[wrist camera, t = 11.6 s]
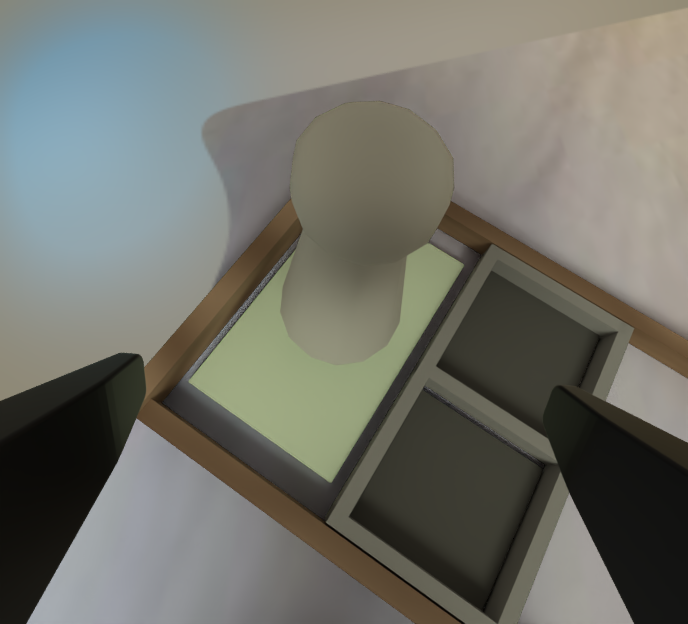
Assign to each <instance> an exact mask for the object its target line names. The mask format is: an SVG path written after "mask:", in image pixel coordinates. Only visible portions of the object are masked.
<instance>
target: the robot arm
mask: <svg viewBox="0 0 688 624" xmlns="http://www.w3.org/2000/svg"><path fill="white" fill-rule="evenodd" d="M145 395H146V379H145V371H144V362H143V359H142V357H141V356H140V355H139V354H132V353H118V354H116V355H113V356H111V357H108V358H106V359H103V360H101V361H98V362H96V363H93V364H91V365H88V366H86V367H83V368H81V369H79V370H76V371H73V372H71V373H68V374H66V375H64V376H61V377H59V378H56V379H54V380H51V381H49V382H46V383H44V384H41V385H39V386H36V387H34V388H31V389H29V390H26V391H24V392H21V393H19V394H17V395H14V396H12V397H9V398H7V399H4V400H2V401H0V624H26V623H27V622H28V620H29V618H30V616H31V614H32V613H33V611H34V609H35V607H36V606H37V604H38V602H39V600H40V599H41V597H42V595H43V593H44V591H45V590H46V588H47V586H48V584H49V583H50V581H51V579H52V577H53V576H54V574H55V572H56V570H57V568H58V567H59V565H60V563H61V561H62V560H63V558H64V556H65V554H66V552H67V551H68V549H69V547H70V545H71V544H72V542H73V540H74V538H75V537H76V535H77V533H78V531H79V529H80V528H81V526H82V524H83V522H84V521H85V519H86V517H87V515H88V514H89V512H90V510H91V508H92V506H93V505H94V503H95V501H96V499H97V498H98V496H99V494H100V492H101V491H102V489H103V487H104V485H105V483H106V482H107V480H108V478H109V476H110V475H111V473H112V471H113V469H114V467H115V465H116V464H117V462H118V460H119V457H120V455H121V453H122V451H123V448H124V446H125V444H126V441H127V439H128V437H129V434H130V432H131V430H132V427H133V425H134V422H135V420H136V418H137V415H138V413H139V411H140V408H141V406H142V404H143V401H144V399H145ZM542 421H543V426H544V429H545V431H546V434H547V437H548V439H549V442H550V445H551V447H552V450H553V453H554V455H555V458H556V461H557V463H558V466H559V469H560V471H561V474H562V477H563V479H564V481H565V484H566V486H567V488H568V491H569V493H570V495H571V497H572V499H573V501H574V503H575V505H576V507H577V509H578V511H579V513H580V515H581V517H582V519H583V521H584V523H585V525H586V527H587V529H588V531H589V533H590V536H591V538H592V540H593V542H594V544H595V546H596V548H597V550H598V552H599V554H600V556H601V558H602V560H603V562H604V564H605V566H606V568H607V570H608V572H609V574H610V576H611V578H612V580H613V582H614V584H615V586H616V588H617V590H618V592H619V594H620V596H621V598H622V600H623V602H624V604H625V606H626V608H627V610H628V612H629V614H630V616H631V618H632V620H633V622H634V624H688V443H687V442H685V441H683V440H681V439H679V438H677V437H675V436H673V435H671V434H669V433H667V432H665V431H663V430H661V429H659V428H657V427H655V426H653V425H651V424H649V423H647V422H645V421H643V420H642V419H640V418H638V417H636V416H634V415H632V414H630V413H628V412H626V411H624V410H622V409H620V408H618V407H616V406H614V405H612V404H610V403H608V402H606V401H604V400H602V399H600V398H598V397H596V396H594V395H592V394H590V393H588V392H586V391H584V390H582V389H580V388H578V387H576V386H570V385H557V386H555V387H554V388H553V389H552V391H551V394H550V397H549V399H548V402H547V405H546V407H545V410H544V413H543V418H542Z"/></svg>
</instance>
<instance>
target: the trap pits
mask: <svg viewBox="0 0 688 624" xmlns="http://www.w3.org/2000/svg"><path fill="white" fill-rule="evenodd" d="M633 330H634V328H633V327H631V326H629V325H628V324H626V323H624V322H623V321H621V320H619V319H618V318H616V317H614V316H613V315H611V314H609V313H608V312H606V311H604V310H603V309H601V308H599V307H598V306H596V305H594V304H593V303H591V302H589V301H587V300H586V299H584V298H582V297H581V296H579V295H577V294H576V293H574V292H572V291H571V290H569V289H567V288H566V287H564V286H562V285H561V284H559V283H557V282H556V281H554V280H552V279H551V278H549V277H547V276H545V275H544V274H542V273H540V272H539V271H537V270H535V269H534V268H532V267H530V266H529V265H527V264H525V263H524V262H522V261H520V260H519V259H517V258H515V257H514V256H512V255H510V254H508V253H507V252H505V251H503V250H502V249H500V248H498V247H497V246H495V245H493V244H491V245H490V247H489V248H488V249H487V250H486V251H485V252H484V254H483V255H482V256H481V257H480V259H479V261H478V262H477V264H476V266H475V267H474V269H473V271H472V272H471V274H470V276H469V277H468V279H467V281H466V283H465V284H464V286H463V288H462V289H461V291H460V293H459V294H458V296H457V298H456V299H455V301H454V303H453V304H452V306H451V308H450V309H449V311H448V313H447V314H446V316H445V318H444V319H443V321H442V323H441V324H440V326H439V328H438V329H437V331H436V333H435V334H434V336H433V338H432V339H431V341H430V343H429V344H428V346H427V348H426V349H425V351H424V353H423V354H422V356H421V358H420V359H419V361H418V363H417V364H416V366H415V368H414V369H413V371H412V373H411V374H410V376H409V378H408V379H407V381H406V383H405V384H404V386H403V388H402V389H401V391H400V393H399V394H398V396H397V398H396V399H395V401H394V403H393V404H392V406H391V408H390V409H389V411H388V413H387V414H386V416H385V418H384V419H383V421H382V423H381V424H380V426H379V428H378V429H377V431H376V433H375V434H374V436H373V438H372V439H371V441H370V443H369V444H368V446H367V448H366V449H365V451H364V453H363V454H362V456H361V458H360V459H359V461H358V463H357V464H356V466H355V468H354V469H353V471H352V473H351V474H350V476H349V478H348V479H347V481H346V483H345V484H344V486H343V488H342V489H341V491H340V493H339V494H338V496H337V498H336V499H335V501H334V503H333V504H332V506H331V508H330V509H329V511H328V513H327V514H326V516H325V521H326V523H327V524H329V525H330V526H332V527H333V528H334V529H336V530H337V531H338V532H340V533H341V534H343V535H344V536H345V537H347V538H348V539H349V540H351V541H352V542H354V543H355V544H356V545H358V546H359V547H361V548H362V549H363V550H365V551H366V552H367V553H369V554H370V555H372V556H373V557H374V558H376V559H377V560H378V561H380V562H381V563H383V564H384V565H385V566H387V567H388V568H389V569H391V570H392V571H394V572H395V573H396V574H398V575H399V576H401V577H402V578H403V579H405V580H406V581H407V582H409V583H410V584H412V585H413V586H414V587H416V588H417V589H418V590H420V591H421V592H423V593H424V594H425V595H427V596H428V597H429V598H431V599H432V600H434V601H435V602H436V603H438V604H439V605H441V606H442V607H443V608H445V609H446V610H447V611H449V612H450V613H452V614H453V615H454V616H456V617H457V618H458V619H460V620H461V621H463V622H464V623H465V624H517V623H518V620H519V618H520V615H521V613H522V610H523V608H524V605H525V603H526V600H527V598H528V595H529V593H530V590H531V587H532V585H533V582H534V580H535V577H536V575H537V572H538V570H539V567H540V565H541V562H542V560H543V557H544V555H545V552H546V550H547V547H548V545H549V542H550V540H551V537H552V535H553V532H554V529H555V527H556V524H557V522H558V519H559V517H560V514H561V512H562V509H563V507H564V504H565V502H566V499H567V497H568V494H569V491H568V488H567V486H566V484H565V481H564V479H563V477H562V474H561V471H560V469H559V466H558V463H557V461H556V458H555V455H554V453H553V450H552V447H551V445H550V442H549V439H548V437H547V434H546V431H545V429H544V426H543V421H542V418H543V413H544V410H545V407H546V405H547V402H548V399H549V397H550V394H551V391H552V389H553V388H554V387H555V386H557V385H570V386H576V387H578V386H579V383H580V381H581V379H582V376H583V374H584V372H585V369H586V367H587V365H588V362H589V360H590V358H591V355H592V353H593V351H594V348H595V346H596V344H597V341H598V339H599V341H598V344H597V346H596V348H595V351H594V353H593V355H592V358H591V360H590V362H589V365H588V367H587V369H586V372H585V374H584V376H583V379H582V381H581V383H580V386H579V388H580V389H582V390H584V391H586V392H588V393H590V394H592V395H594V396H596V397H598V398H600V399H602V400H604V401H606V398H607V396H608V393H609V391H610V388H611V386H612V383H613V381H614V378H615V376H616V373H617V371H618V368H619V366H620V363H621V360H622V358H623V355H624V353H625V350H626V348H627V345H628V343H629V340H630V338H631V335H632V333H633ZM424 386H426V387H428V388H429V389H431V390H432V391H434V392H435V393H437V394H438V395H440V396H441V397H443V398H445V399H446V400H448V401H449V402H451V403H452V404H454V405H455V406H457V407H458V408H460V409H461V410H463V411H464V412H466V413H467V414H469V415H470V416H472V417H474V418H475V419H477V420H478V421H480V422H481V423H483V424H484V425H486V426H487V427H489V428H490V429H492V430H493V431H495V432H496V433H498V434H499V435H501V436H502V437H504V438H506V439H507V440H509V441H510V442H512V443H513V444H515V445H516V446H518V447H519V448H521V449H522V450H524V451H525V452H527V453H528V454H530V455H531V456H533V457H535V458H536V459H538V460H539V461H541V462H542V463H544V464H545V468H544V470H543V472H542V468H541V467H539V466H538V465H536V464H535V463H533V462H532V461H530V460H529V459H527V458H526V457H524V456H522V455H521V454H519V453H518V452H516V451H515V450H513V449H512V448H510V447H509V446H507V445H506V444H504V443H503V442H501V441H500V440H498V439H497V438H495V437H494V436H492V435H491V434H489V433H487V432H486V431H484V430H483V429H481V428H480V427H478V426H477V425H475V424H474V423H472V422H471V421H469V420H468V419H466V418H465V417H463V416H462V415H460V414H459V413H457V412H456V411H454V410H453V409H451V408H449V407H448V406H446V405H445V404H443V403H442V402H440V401H439V400H437V399H436V398H434V397H433V396H431V395H430V394H428V393H427V392H425V391H424V390H422V389H423V387H424ZM541 472H542V475H541V477H540V479H539V476H540V474H541ZM538 479H539V482H538V484H537V486H536V483H537V481H538ZM535 486H536V489H535V491H534V493H533V490H534V488H535ZM532 493H533V496H532V498H531V500H530V497H531V495H532ZM529 500H530V503H529V505H528V507H527V504H528V502H529ZM526 507H527V510H526V512H525V514H524V511H525V509H526ZM523 514H524V517H523V519H522V521H521V518H522V516H523ZM520 521H521V524H520V526H519V528H518V525H519V523H520ZM517 528H518V531H517V533H516V535H515V532H516V530H517ZM514 535H515V538H514V540H513V542H512V539H513V537H514ZM511 542H512V545H511V547H510V550H509V552H508V554H507V557H506V559H505V561H504V564H503V566H502V568H501V571H500V573H499V575H498V578H497V580H496V582H495V585H494V587H493V589H492V592H491V594H490V596H489V599H488V601H487V603H486V606H485V608H484V610H483V611H482V609H483V607H484V605H485V602H486V600H487V598H488V595H489V593H490V591H491V588H492V586H493V584H494V581H495V579H496V577H497V574H498V572H499V570H500V567H501V565H502V563H503V560H504V558H505V556H506V553H507V551H508V549H509V546H510V544H511Z"/></svg>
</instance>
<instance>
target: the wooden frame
mask: <svg viewBox="0 0 688 624" xmlns="http://www.w3.org/2000/svg"><path fill="white" fill-rule="evenodd" d="M437 228H438V229H440V230H441V231H443V232H445V233H446V234H448V235H450V236H451V237H453V238H455V239H456V240H458V241H460V242H461V243H463V244H465V245H466V246H468V247H470V248H471V249H473V250H475V251H476V252H478V253H480V254H481V255H483V254H484V252H485V251H486V250H487V249H488V248H489V247H490V245H491V244H493V245H495V246H497V247H498V248H500V249H502V250H503V251H505V252H507V253H508V254H510V255H512V256H514V257H515V258H517V259H519V260H520V261H522V262H524V263H525V264H527V265H529V266H530V267H532V268H534V269H535V270H537V271H539V272H540V273H542V274H544V275H545V276H547V277H549V278H551V279H552V280H554V281H556V282H557V283H559V284H561V285H562V286H564V287H566V288H567V289H569V290H571V291H572V292H574V293H576V294H577V295H579V296H581V297H582V298H584V299H586V300H587V301H589V302H591V303H593V304H594V305H596V306H598V307H599V308H601V309H603V310H604V311H606V312H608V313H609V314H611V315H613V316H614V317H616V318H618V319H619V320H621V321H623V322H624V323H626V324H628V325H629V326H631V327H633V328H634V330H633V333H632V335H631V338H630V340H629V343H630V344H631V345H633V346H635V347H636V348H638V349H640V350H641V351H643V352H645V353H646V354H648V355H650V356H651V357H653V358H655V359H656V360H658V361H660V362H661V363H663V364H665V365H666V366H668V367H670V368H671V369H673V370H675V371H676V372H678V373H680V374H681V375H683V376H685V377H686V378H688V340H686V339H684V338H683V337H681V336H679V335H677V334H676V333H674V332H672V331H671V330H669V329H667V328H666V327H664V326H662V325H661V324H659V323H657V322H655V321H654V320H652V319H650V318H649V317H647V316H645V315H644V314H642V313H640V312H638V311H637V310H635V309H633V308H632V307H630V306H628V305H627V304H625V303H623V302H621V301H620V300H618V299H616V298H615V297H613V296H611V295H610V294H608V293H606V292H604V291H603V290H601V289H599V288H598V287H596V286H594V285H593V284H591V283H589V282H588V281H586V280H584V279H582V278H581V277H579V276H577V275H576V274H574V273H572V272H571V271H569V270H567V269H565V268H564V267H562V266H560V265H559V264H557V263H555V262H554V261H552V260H550V259H548V258H547V257H545V256H543V255H542V254H540V253H538V252H537V251H535V250H533V249H531V248H530V247H528V246H526V245H525V244H523V243H521V242H520V241H518V240H516V239H515V238H513V237H511V236H509V235H508V234H506V233H504V232H503V231H501V230H499V229H498V228H496V227H494V226H492V225H491V224H489V223H487V222H486V221H484V220H482V219H481V218H479V217H477V216H475V215H474V214H472V213H470V212H469V211H467V210H465V209H464V208H462V207H460V206H458V205H457V204H455V203H453V202H452V201H451V202H450V205H449V207H448V209H447V211H446V212H445V214H444V216H443V218H442V220H441V222H440V224H439V225H438V227H437ZM302 230H303V228H302V226H301V223H300V221H299V218H298V216H297V213H296V211H295V208H294V206H293V203H292V199H290V200H289V201H288V202H287V204H286V205H285V206H284V207H283V208H282V209H281V211H280V212H279V213H278V214H277V215H276V216H275V217H274V219H273V220H272V221H271V222H270V223H269V224H268V226H267V227H266V228H265V229H264V230H263V231H262V232H261V234H260V235H259V236H258V237H257V238H256V239H255V240H254V242H253V243H252V244H251V245H250V246H249V247H248V249H247V250H246V251H245V252H244V253H243V254H242V255H241V257H240V258H239V259H238V260H237V261H236V262H235V264H234V265H233V266H232V267H231V268H230V269H229V270H228V272H227V273H226V274H225V275H224V276H223V277H222V279H221V280H220V281H219V282H218V283H217V284H216V285H215V287H214V288H213V289H212V290H211V291H210V292H209V294H208V295H207V296H206V297H205V298H204V299H203V300H202V302H201V303H200V304H199V305H198V306H197V307H196V309H195V310H194V311H193V312H192V313H191V314H190V315H189V317H188V318H187V319H186V320H185V321H184V323H183V324H182V325H181V326H180V327H179V328H178V329H177V331H176V332H175V333H174V334H173V335H172V336H171V337H170V339H169V340H168V341H167V342H166V343H165V344H164V345H163V347H162V348H161V349H160V350H159V351H158V352H157V354H156V355H155V356H154V357H153V358H152V359H151V360H150V362H149V363H148V364H147V365H146V366H145V367H144V371H145V379H146V395H145V399H144V401H143V404H142V406H141V408H140V411H139V413H138V415H137V419H138V420H140V421H141V422H142V423H144V424H145V425H147V426H148V427H149V428H151V429H152V430H153V431H155V432H156V433H157V434H159V435H160V436H161V437H163V438H164V439H166V440H167V441H168V442H170V443H171V444H172V445H174V446H175V447H176V448H178V449H179V450H180V451H182V452H183V453H185V454H186V455H187V456H189V457H190V458H191V459H193V460H194V461H195V462H197V463H198V464H199V465H201V466H202V467H204V468H205V469H206V470H208V471H209V472H210V473H212V474H213V475H214V476H216V477H217V478H218V479H220V480H221V481H223V482H224V483H225V484H227V485H228V486H229V487H231V488H232V489H233V490H235V491H236V492H237V493H239V494H240V495H242V496H243V497H244V498H246V499H247V500H248V501H250V502H251V503H252V504H254V505H255V506H256V507H258V508H259V509H261V510H262V511H263V512H265V513H266V514H267V515H269V516H270V517H271V518H273V519H274V520H275V521H277V522H278V523H280V524H281V525H282V526H284V527H285V528H286V529H288V530H289V531H290V532H292V533H293V534H294V535H296V536H297V537H299V538H300V539H301V540H303V541H304V542H305V543H307V544H308V545H309V546H311V547H312V548H313V549H315V550H316V551H317V552H319V553H320V554H322V555H323V556H324V557H326V558H327V559H328V560H330V561H331V562H332V563H334V564H335V565H336V566H338V567H339V568H341V569H342V570H343V571H345V572H346V573H347V574H349V575H350V576H351V577H353V578H354V579H355V580H357V581H358V582H360V583H361V584H362V585H364V586H365V587H366V588H368V589H369V590H370V591H372V592H373V593H374V594H376V595H377V596H379V597H380V598H381V599H383V600H384V601H385V602H387V603H388V604H389V605H391V606H392V607H393V608H395V609H396V610H398V611H399V612H400V613H402V614H403V615H404V616H406V617H407V618H408V619H410V620H411V621H412V622H414V623H415V624H465V623H464V622H463V621H461V620H460V619H458V618H457V617H456V616H454V615H453V614H452V613H450V612H449V611H447V610H446V609H445V608H443V607H442V606H441V605H439V604H438V603H436V602H435V601H434V600H432V599H431V598H429V597H428V596H427V595H425V594H424V593H423V592H421V591H420V590H418V589H417V588H416V587H414V586H413V585H412V584H410V583H409V582H407V581H406V580H405V579H403V578H402V577H401V576H399V575H398V574H396V573H395V572H394V571H392V570H391V569H389V568H388V567H387V566H385V565H384V564H383V563H381V562H380V561H378V560H377V559H376V558H374V557H373V556H372V555H370V554H369V553H367V552H366V551H365V550H363V549H362V548H361V547H359V546H358V545H356V544H355V543H354V542H352V541H351V540H349V539H348V538H347V537H345V536H344V535H343V534H341V533H340V532H338V531H337V530H336V529H334V528H333V527H332V526H330V525H329V524H327V523H326V521H324V520H323V519H321V518H320V517H319V516H317V515H316V514H314V513H313V512H312V511H310V510H309V509H308V508H306V507H305V506H303V505H302V504H301V503H299V502H298V501H297V500H295V499H294V498H292V497H291V496H290V495H288V494H287V493H286V492H284V491H283V490H281V489H280V488H279V487H277V486H276V485H274V484H273V483H272V482H270V481H269V480H268V479H266V478H265V477H263V476H262V475H261V474H259V473H258V472H257V471H255V470H254V469H252V468H251V467H250V466H248V465H247V464H245V463H244V462H243V461H241V460H240V459H239V458H237V457H236V456H234V455H233V454H232V453H230V452H229V451H228V450H226V449H225V448H223V447H222V446H221V445H219V444H218V443H217V442H215V441H214V440H212V439H211V438H210V437H208V436H207V435H205V434H204V433H203V432H201V431H200V430H199V429H197V428H196V427H194V426H193V425H192V424H190V423H189V422H188V421H186V420H185V419H183V418H182V417H181V416H179V415H178V414H177V413H175V412H174V411H172V410H171V409H170V408H168V407H167V406H165V405H164V404H163V403H162V402H163V401H164V399H165V398H166V397H167V396H168V395H169V393H170V392H171V391H172V390H173V389H174V387H175V386H176V385H177V384H178V382H179V381H180V380H181V379H182V378H183V376H184V375H185V374H186V373H187V371H188V370H189V369H190V368H191V367H192V365H193V364H194V363H195V362H196V361H197V359H198V358H199V357H200V356H201V354H202V353H203V352H204V351H205V350H206V348H207V347H208V346H209V345H210V343H211V342H212V341H213V340H214V339H215V337H216V336H217V335H218V334H219V333H220V331H221V330H222V329H223V328H224V326H225V325H226V324H227V323H228V322H229V320H230V319H231V318H232V317H233V315H234V314H235V313H236V312H237V311H238V309H239V308H240V307H241V306H242V305H243V303H244V302H245V301H246V300H247V298H248V297H249V296H250V295H251V294H252V292H253V291H254V290H255V289H256V287H257V286H258V285H259V284H260V283H261V281H262V280H263V279H264V278H265V277H266V275H267V274H268V273H269V272H270V270H271V269H272V268H273V267H274V266H275V264H276V263H277V262H278V261H279V259H280V258H281V257H282V256H283V255H284V253H285V252H286V251H287V250H288V249H289V247H290V246H291V245H292V244H293V242H294V241H295V240H296V239H297V238H298V236H299V235H300V234H301V233H302Z"/></svg>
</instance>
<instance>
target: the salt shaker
mask: <svg viewBox="0 0 688 624" xmlns="http://www.w3.org/2000/svg"><path fill="white" fill-rule="evenodd" d="M453 190H454V167H453V157H452V156H451V154H450V152H449V150H448V149H447V147H446V145H445V144H444V142H443V140H442V139H441V137H440V135H439V134H438V132H437V131H436V130H435V129H434V128H433V127H431V126H430V125H429V124H428V123H426V122H425V121H424V120H422V119H421V118H420V117H418V116H417V115H416V114H414V113H413V112H412V111H411V110H409V109H406V108H403V107H399V106H396V105H392V104H389V103H385V102H382V101H370V102H350V103H344V104H342V105H340V106H338V107H336V108H334V109H332V110H330V111H328V112H326V113H324V114H321V115H319V116H317V117H315V119H314V120H313V121H312V122H311V124H310V125H309V126H308V127H307V129H306V130H305V131H304V132H303V133H302V135H301V136H300V137H299V138H298V140H297V141H296V146H295V151H294V156H293V163H292V171H291V180H290V193H291V199H292V203H293V206H294V208H295V211H296V213H297V216H298V218H299V221H300V223H301V226H302V228H303V230H302V233H301V236H300V238H299V241H298V244H297V247H296V250H295V253H294V256H293V258H292V261H291V264H290V267H289V270H288V273H287V276H286V279H285V281H284V284H283V289H282V299H281V309H280V313H281V316H282V319H283V321H284V324H285V327H286V330H287V333H288V336H289V337H290V339H291V340H292V341H293V342H295V343H296V344H297V345H298V346H299V347H300V348H301V349H302V350H303V351H305V352H306V353H307V354H308V355H309V356H310V357H312V358H315V359H318V360H321V361H324V362H327V363H330V364H334V365H342V364H349V363H356V362H363V361H365V360H366V359H368V358H369V357H371V356H372V355H374V354H375V353H377V352H378V351H380V350H381V349H383V348H384V347H386V346H387V345H388V343H389V341H390V339H391V338H392V336H393V334H394V332H395V330H396V328H397V326H398V325H399V323H400V314H401V305H402V296H403V287H404V278H405V269H406V260H407V255H409V254H411V253H412V252H414V251H416V250H417V249H419V248H421V247H422V246H424V245H426V244H427V243H428V242H429V240H430V239H431V237H432V236H433V234H434V233H435V231H436V229H437V227H438V225H439V224H440V222H441V220H442V218H443V216H444V214H445V212H446V211H447V209H448V207H449V205H450V202H451V198H452V194H453Z"/></svg>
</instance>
